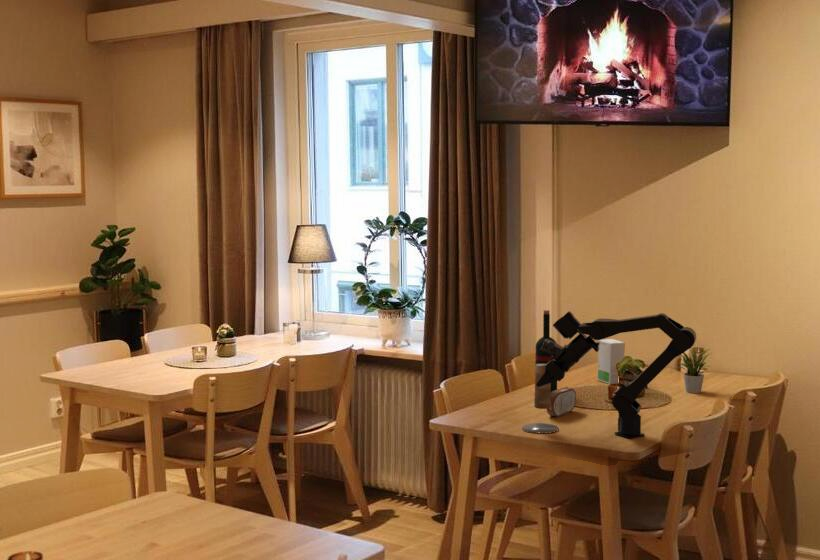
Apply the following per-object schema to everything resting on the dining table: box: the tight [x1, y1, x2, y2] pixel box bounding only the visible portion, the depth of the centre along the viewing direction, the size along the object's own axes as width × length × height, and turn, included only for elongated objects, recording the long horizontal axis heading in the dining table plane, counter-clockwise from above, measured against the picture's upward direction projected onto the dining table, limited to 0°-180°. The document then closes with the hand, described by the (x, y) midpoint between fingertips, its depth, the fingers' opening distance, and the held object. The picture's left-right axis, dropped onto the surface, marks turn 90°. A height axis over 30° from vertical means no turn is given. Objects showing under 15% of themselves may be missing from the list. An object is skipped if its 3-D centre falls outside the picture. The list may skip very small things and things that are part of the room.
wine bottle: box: [535, 309, 558, 392], centre depth 365 cm, size 8×10×30 cm
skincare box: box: [596, 338, 626, 385], centre depth 386 cm, size 8×7×16 cm
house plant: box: [678, 348, 714, 394], centre depth 367 cm, size 14×14×16 cm
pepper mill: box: [533, 364, 551, 410], centre depth 315 cm, size 5×5×13 cm
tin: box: [546, 386, 577, 418], centre depth 336 cm, size 15×3×8 cm, turn 141°
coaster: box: [521, 422, 559, 434], centre depth 317 cm, size 11×11×1 cm
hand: (538, 384), depth 315 cm, fingers closed on pepper mill, 5 cm apart
